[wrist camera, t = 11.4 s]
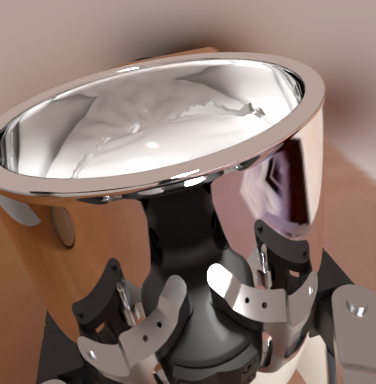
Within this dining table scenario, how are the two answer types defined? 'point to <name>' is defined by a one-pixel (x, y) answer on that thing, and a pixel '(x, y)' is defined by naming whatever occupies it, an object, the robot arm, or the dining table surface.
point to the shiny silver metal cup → (174, 215)
